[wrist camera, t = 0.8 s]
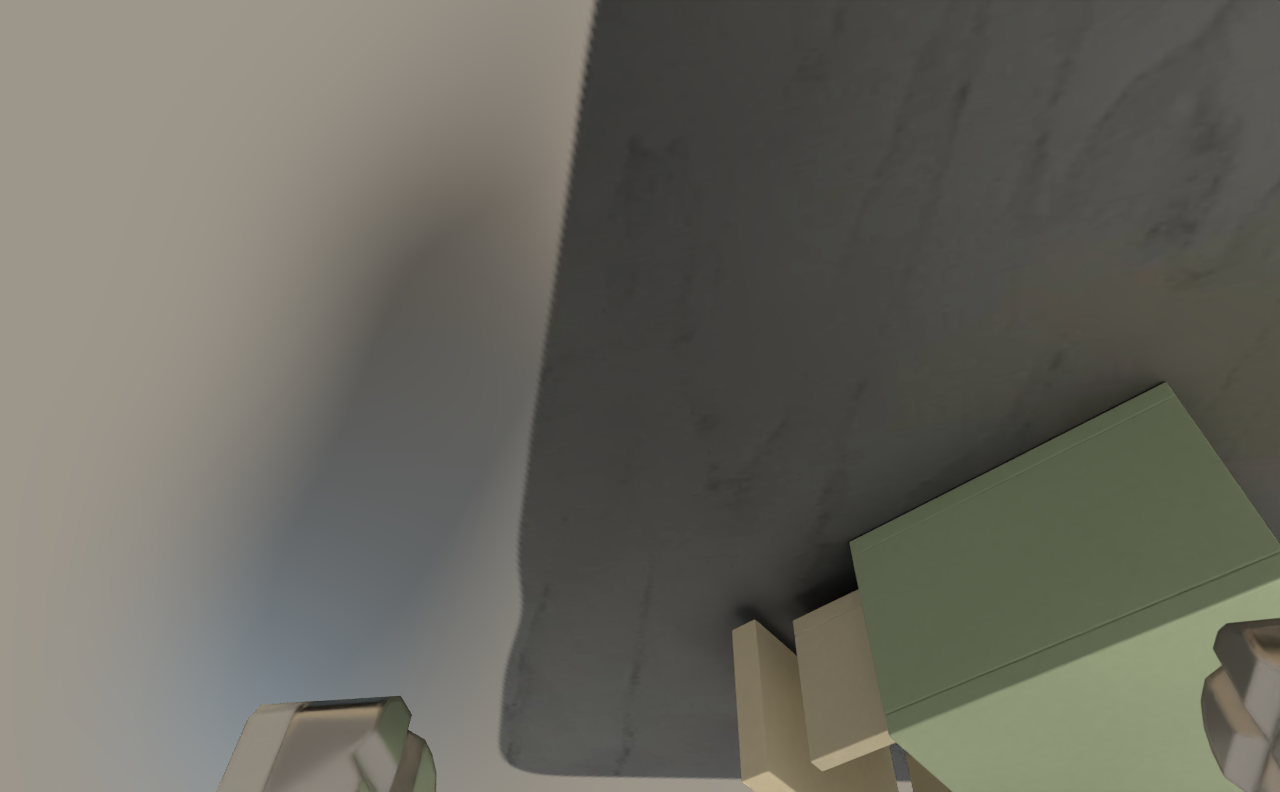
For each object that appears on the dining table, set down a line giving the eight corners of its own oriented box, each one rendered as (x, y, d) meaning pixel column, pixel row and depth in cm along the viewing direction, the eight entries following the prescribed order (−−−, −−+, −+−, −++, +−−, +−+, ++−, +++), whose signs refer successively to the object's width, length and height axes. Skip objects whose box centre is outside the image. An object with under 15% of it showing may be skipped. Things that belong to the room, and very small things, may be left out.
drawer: (842, 752, 45) (866, 901, 39) (708, 641, 40) (714, 793, 34) (1103, 647, 39) (1171, 802, 34) (984, 505, 35) (1042, 659, 29)
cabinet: (987, 683, 42) (1048, 877, 36) (848, 541, 37) (888, 736, 30) (1279, 564, 37) (1415, 764, 31) (1165, 380, 32) (1299, 571, 25)
